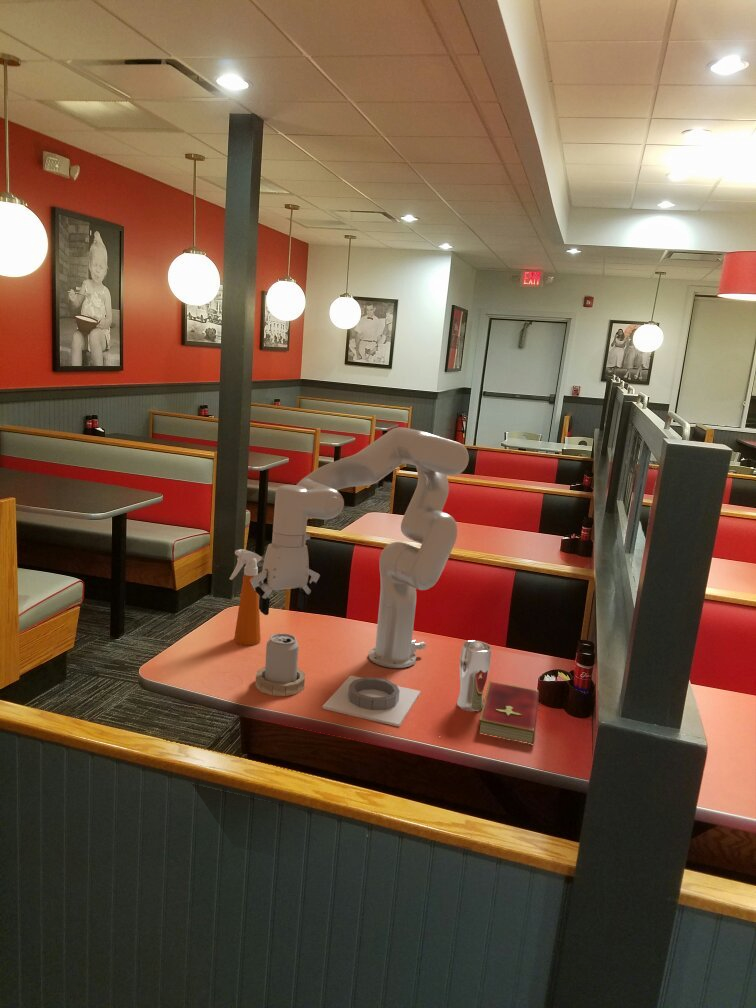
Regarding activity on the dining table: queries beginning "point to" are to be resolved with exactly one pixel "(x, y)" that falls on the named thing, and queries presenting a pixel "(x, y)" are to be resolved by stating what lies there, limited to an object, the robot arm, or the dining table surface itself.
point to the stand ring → (278, 688)
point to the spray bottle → (247, 600)
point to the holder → (373, 700)
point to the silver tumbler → (473, 674)
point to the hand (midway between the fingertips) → (283, 611)
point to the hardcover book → (509, 712)
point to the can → (281, 659)
